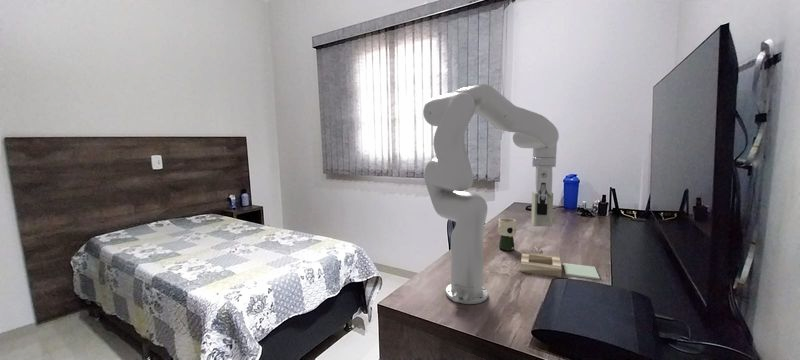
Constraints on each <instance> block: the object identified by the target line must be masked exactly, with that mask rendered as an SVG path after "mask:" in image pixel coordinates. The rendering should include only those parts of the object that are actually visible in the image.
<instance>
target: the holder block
mask: <svg viewBox="0 0 800 360" xmlns="http://www.w3.org/2000/svg"><path fill="white" fill-rule="evenodd" d="M520 258H521V260H520V272H521V273H526V274H535V275H536V274H537V275H542V276H547V277H548V276H550V277H555V276H556V277H557V278H562V276H563V275H562V274H563V273H562V271H563V270H562V269H563V268H562V263H561V259H560V255H554V254H547V253H546V254H545V253H538V252H530V251H521V257H520Z"/></svg>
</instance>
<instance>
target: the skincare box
mask: <svg viewBox="0 0 800 360" xmlns="http://www.w3.org/2000/svg"><path fill="white" fill-rule="evenodd" d="M540 194H541V193H540ZM538 195H539V194H538ZM538 195H537V193H536V191H531V219H530V220H531V225H532V226H533V227H541V228H542V227H547V228H548V227H553V216H554V215H553V213H554V211H553V210H554V192H552V195H551V196H550V194H548V193H547V215H538V214H537V203H538ZM545 195H546V193H545Z"/></svg>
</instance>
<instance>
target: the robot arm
mask: <svg viewBox="0 0 800 360" xmlns="http://www.w3.org/2000/svg"><path fill="white" fill-rule="evenodd" d="M422 114H423V118H424V119H425V122H427V124H429V125H430V126H433V127H437V128H436V130H435V132H434V136H433V150H434V153H435V157H434V158H432V159H430V160H429V161H428V162H427V164H426V166H425V168H424V174H423V175H424V182H425V186H426V189H427V192H428V195H429V197H430V200H431V203H432V206H433V209H434V211H435V213H436V214H437V215H438V216H439V217H442V218H444V219H445V220H450V221H452V222H455V226H454V228H453V230H452V232H451V236H450V284H448V285H446V288H445V295H446V296H447V297H448V298H449V299H450V300H452V301H453V302H455V303H459V304H465V305H476V304H480V303H483V302H485V301H486V300H487V299H488V297H489V292H488V290H487V288H485V286H484V285H483V283H484V282H483V280H484V279H483V278H484V271H483V270H484V234H485V233H484V232H485V225H486V220H487V215H488V204H487V201H486V199H485V198H484V197H482V196H481V195H480V194H477V193H475V192H470V191H468V190H469V189H470V188H472V186H473V184H474V175H473V174H474V173H473V169H472V166H471V162H470V159H469V155H468V151H467V148H466V147H467V146H466V142H465V134H466V130H467V128H468V126H469V123H470V122H471V120H472V118H473V116H474V115H477V116H479V117H481V118H482V119H484V120H485V121H487V122H488V123H489V124H490V125H492V126H493V127H494V128H496V129H498V130H500V131H503V132H508V133H509V132H510V133H513V134H512V142H513V143H514V145H515V146H516V147H518V148H520V149H532V167H535V192H536V193H537V195H538V194H539V195H538V203H537V214H538V215H547V193H548V194H550V196H551V195H552V193H553V168H556V167H557V147H558V146H557V145H558V141H559V138H560V135H559V129H558V128H557V127H556V125H555V124H554V123H553V122H552V121H550V120H549V119H548V118H547V117H545V116H544V115H542V114H540V113H537V112H534V111H532V110H528V109H526V108H523V107H519V106H516V105H515V104H513V102H511V101H510V100H509V99H508V98H506V97H505V96H504V95H502V94H501V93H500V92H499V91H498V90H497V89H495V88H494V87H493V86H491V85H490V84H486V83H480V84H475V85H472V86H471V85H470V86H467V87H466V86H465V87H461V88H458V89H456V90H454V91H451V92H447V93H444V94H442V95H438V96H435V97H431V98H430V99H428V101H427V102H425V104H424V107H423V113H422ZM540 193H541V194H540ZM545 193H546V195H545Z"/></svg>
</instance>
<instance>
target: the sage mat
mask: <svg viewBox="0 0 800 360" xmlns="http://www.w3.org/2000/svg"><path fill="white" fill-rule="evenodd" d="M563 268H564V269H563V270H564V272H565V273H564V274H565V276H571V277H576V278H577V277H578V278H585V279H590V280H591V279H592V280H599V281H600V279H601V277H600V276H599V273H598V270H597V269H596V267H595V266H593V265H592V266H591V265H585V264H584V265H583V264H575V263H567V262H566V263H565V262H563Z"/></svg>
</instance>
